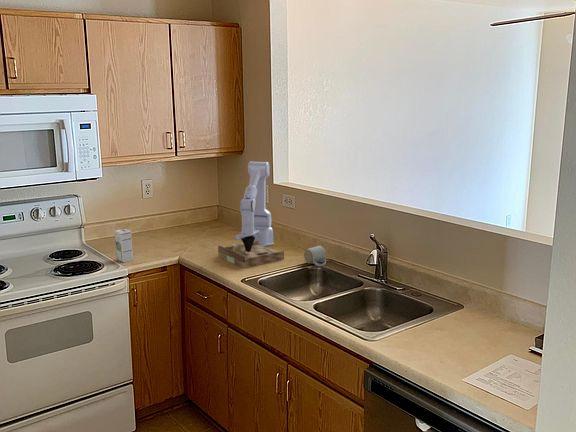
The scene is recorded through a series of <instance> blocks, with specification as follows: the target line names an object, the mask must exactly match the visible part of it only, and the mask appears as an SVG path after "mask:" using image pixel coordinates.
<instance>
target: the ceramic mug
mask: <svg viewBox="0 0 576 432" xmlns="http://www.w3.org/2000/svg"><path fill="white" fill-rule="evenodd" d="M326 253H327V252H326V250H325V248H324V247H323V246H322V245H317V246H314V247H309V248H307V249H306V250H304V252H303V258H304V261H305V262H306V264H308V265H313V264H314V265H315V266H316V267H324V266H325V265H326V264H327V263H326V262H327V260H326V258H327V254H326Z"/></svg>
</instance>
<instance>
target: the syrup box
mask: <svg viewBox="0 0 576 432" xmlns="http://www.w3.org/2000/svg"><path fill="white" fill-rule="evenodd" d="M114 239H115V241H114V242H115V252H116V261H118V262H121V263H126V262H131V261H134V254H133V243H132V242H133V241H132V231H131V230H130V229H126V228H121V229H117V230H114Z"/></svg>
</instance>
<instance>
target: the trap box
mask: <svg viewBox="0 0 576 432" xmlns="http://www.w3.org/2000/svg"><path fill="white" fill-rule="evenodd" d="M244 248H245V246H244ZM217 251H218V252H217V253H218V257H219V258H220V259H223V260H225V261H227V262H229V263H231V264H234V265H237V266H239V267H241V268H243V269H246V268H249V267H256V266H260V265H263V264H269V263H271V262H277V261H280V260H284V259H285V250H278V251H277V250H275V249H272V248H270V247H267V246H262V245H259V244H258V241H255V240H254V242H253V244H252V248H251V252H247V251H246V249H245V255H241V254H239V253H236V252H234V251H233V245H230V246H225V247H224V246H221V245H220V244H219V245H217Z"/></svg>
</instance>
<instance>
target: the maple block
mask: <svg viewBox="0 0 576 432" xmlns="http://www.w3.org/2000/svg"><path fill="white" fill-rule="evenodd" d="M232 246H233V251H234V252H236V253H239V254H241V255H245V248H244V243H243V242H241V243H239V242H238V243H233V244H232Z"/></svg>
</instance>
